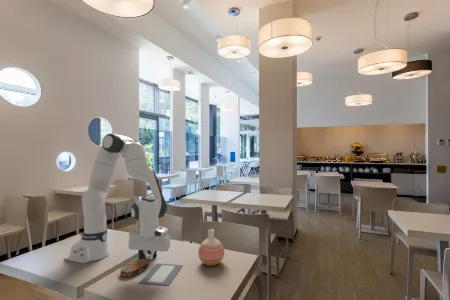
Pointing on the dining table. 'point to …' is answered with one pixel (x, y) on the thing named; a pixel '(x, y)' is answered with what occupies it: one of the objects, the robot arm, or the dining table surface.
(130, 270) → the tin
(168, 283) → the mat
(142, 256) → the blue oil drum
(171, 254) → the dining table surface
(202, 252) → the vase
